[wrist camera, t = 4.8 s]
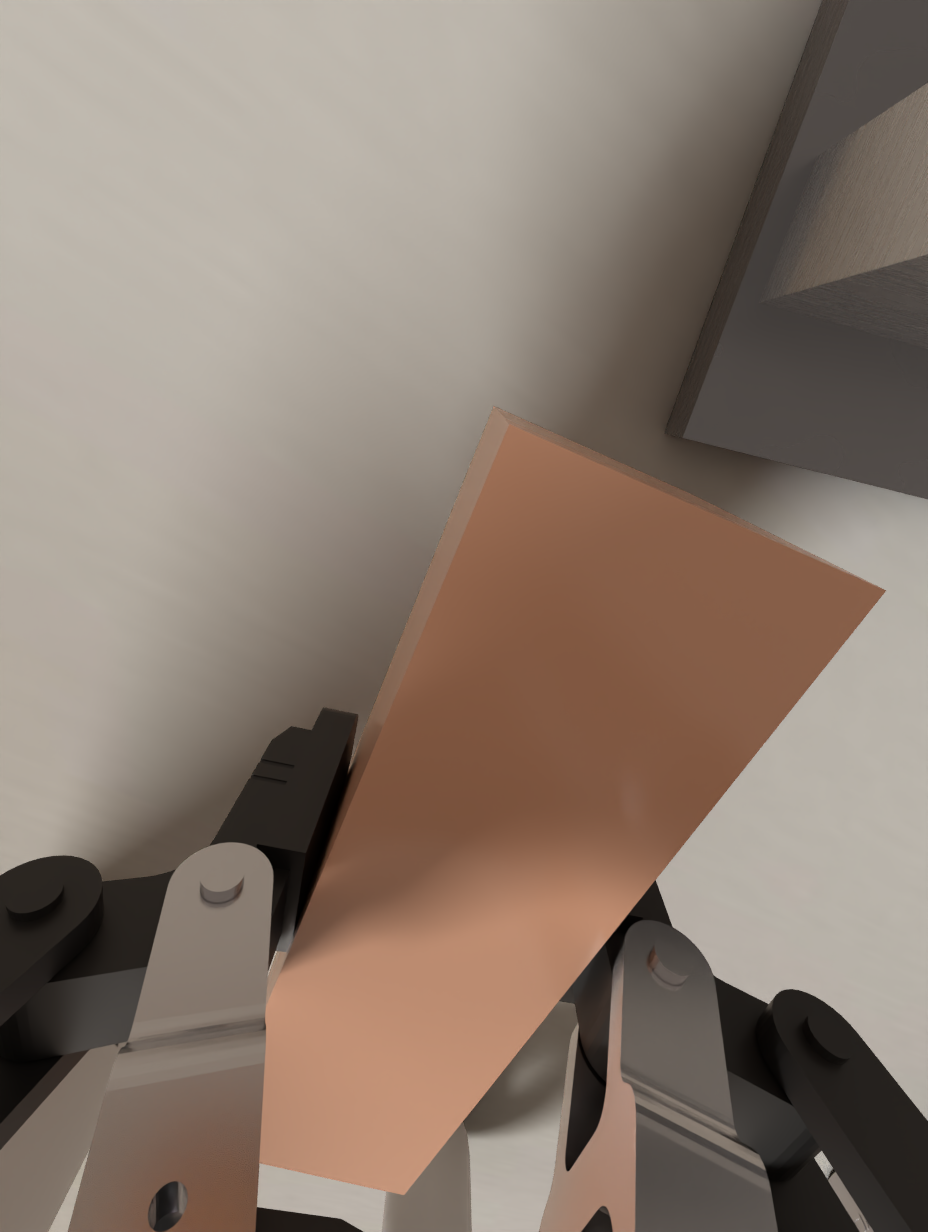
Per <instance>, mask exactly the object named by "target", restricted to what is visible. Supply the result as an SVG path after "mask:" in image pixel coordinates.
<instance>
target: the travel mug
mask: <svg viewBox="0 0 928 1232" xmlns="http://www.w3.org/2000/svg"><path fill="white" fill-rule="evenodd" d="M126 1043H127V1042H123V1043H118V1044H113V1045H108V1046H104V1047H99V1048H94V1049H90V1050H89V1051H88V1052H87V1053H86V1054H85V1055H84V1057H83V1058H82V1059H81V1060H80V1061H79V1062H78V1063H77V1064H76V1066H75V1067H74V1068H73V1069H72V1070H71V1071H70V1072H69V1073H68V1075H67V1076H66V1077H65V1078H64V1079H63V1080H62V1081H61V1082H60V1084H59V1085H58V1086H57V1087H56V1088H55V1089H54V1090H53V1091H52V1093H51V1094H50V1095H49V1096H48V1097H47V1098H46V1099H45V1100H44V1102H43V1103H42V1104H41V1105H40V1106H39V1107H38V1108H37V1109H36V1111H35V1112H34V1113H33V1114H32V1115H31V1116H30V1117H29V1118H28V1120H27V1121H26V1122H25V1123H24V1124H23V1125H22V1126H21V1127H20V1129H19V1130H18V1131H17V1132H16V1133H15V1134H14V1135H13V1136H12V1138H11V1139H10V1140H9V1141H8V1142H7V1143H6V1144H5V1145H4V1147H3V1148H2V1149H1V1150H0V1232H48V1231H49V1229H50V1227H51V1225H52V1223H53V1221H54V1219H55V1217H56V1215H57V1213H58V1211H59V1209H60V1207H61V1205H62V1203H63V1201H64V1199H65V1197H66V1195H67V1193H68V1191H69V1189H70V1187H71V1185H72V1183H73V1181H74V1179H75V1177H76V1175H77V1173H78V1171H79V1169H80V1167H81V1165H82V1163H83V1161H84V1159H85V1157H86V1155H87V1153H88V1151H89V1149H90V1147H91V1143H92V1139H93V1135H94V1132H95V1128H96V1124H97V1120H98V1117H99V1113H100V1109H101V1105H102V1102H103V1098H104V1094H105V1091H106V1087H107V1083H108V1080H109V1077H110V1073H111V1070H112V1067H113V1064H114V1062H115V1059H116V1057H117V1054H118V1052H119V1050H120V1049H121V1048H122V1047H125V1045H126Z"/></svg>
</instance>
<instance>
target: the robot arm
mask: <svg viewBox="0 0 928 1232" xmlns="http://www.w3.org/2000/svg"><path fill="white" fill-rule="evenodd" d="M357 721H358V714H353V713H348V712H343V711H339V710H334V709H329V708H323V709H322V711H321V713H320V715H319V717H318V719H317V721H316V723H315V725H314V727H313V729H312V730H307V729H302V728H297V727H292V726H291V727H290V728H288V729H287V730H286V731H284V732H283V733H281V734H280V735H279V736H277V737H276V738H274V739H273V740H272V741H271V743H270V744H269V746H268V748H267V749H266V751H265V753H264V755H263V756H262V758H261V761H260V763H258V765H257V767H256V768H255V770H254V772H253V773H252V776H251V779H249V780H248V782H247V784H246V785H245V787H244V789H243V791H242V792H241V794H240V796H239V797H238V799H237V801H236V802H235V804H234V806H233V808H232V809H231V811H230V813H229V814H228V816H227V818H226V820H225V821H224V823H223V825H222V826H221V828H220V830H219V832H218V833H217V835H216V837H215V838H214V840H213V841H212V843H211V844H210V846H208V847H206V848H203V849H201V850H199V851H197V852H195V853H194V854H192V855H191V856H189V857H188V858H187V859H186V860H184V861H183V862H182V863H181V864H180V865H179V867H178V868H177V869H176V870H173V871H171V872H168V873H164V874H161V875H156V876H150V877H142V878H133V879H123V880H114V881H104V882H102V879H101V875H100V873H99V871H98V869H97V868H96V867H95V866H94V865H93V864H92V863H90V862H89V861H87V860H84V859H82V858H78V857H74V856H50V857H45V858H40V859H36V860H33V861H29V862H27V863H24V864H22V865H19V866H17V867H15V868H13V869H11V870H9V871H7V872H5V873H4V874H2V875H0V1150H1V1149H2V1148H3V1147H4V1145H5V1144H6V1143H7V1142H8V1141H9V1140H10V1139H11V1138H12V1136H13V1135H14V1134H15V1133H16V1132H17V1131H18V1130H19V1129H20V1127H21V1126H22V1125H23V1124H24V1123H25V1122H26V1121H27V1120H28V1118H29V1117H30V1116H31V1115H32V1114H33V1113H34V1112H35V1111H36V1109H37V1108H38V1107H39V1106H40V1105H41V1104H42V1103H43V1102H44V1100H45V1099H46V1098H47V1097H48V1096H49V1095H50V1094H51V1093H52V1091H53V1090H54V1089H55V1088H56V1087H57V1086H58V1085H59V1084H60V1082H61V1081H62V1080H63V1079H64V1078H65V1077H66V1076H67V1075H68V1073H69V1072H70V1071H71V1070H72V1069H73V1068H74V1067H75V1066H76V1064H77V1063H78V1062H79V1061H80V1060H81V1059H82V1058H83V1057H84V1055H85V1054H86V1053H87V1052H88V1051H89V1050H90V1049H94V1048H99V1047H104V1046H108V1045H113V1044H118V1043H123V1042H127V1043H126V1045H125V1047H122V1048H121V1049H120V1050H119V1052H118V1054H117V1057H116V1059H115V1062H114V1064H113V1067H112V1070H111V1073H110V1077H109V1080H108V1083H107V1087H106V1091H105V1094H104V1098H103V1102H102V1105H101V1109H100V1113H99V1117H98V1120H97V1124H96V1128H95V1132H94V1135H93V1139H92V1143H91V1147H90V1150H89V1154H88V1158H87V1162H86V1165H85V1169H84V1173H83V1176H82V1180H81V1184H80V1188H79V1191H78V1195H77V1199H76V1203H75V1206H74V1210H73V1214H72V1218H71V1221H70V1225H69V1229H68V1232H363V1231H361V1230H359V1229H358V1228H356V1227H354V1226H352V1225H351V1224H349V1223H347V1222H345V1221H344V1220H342V1219H338V1218H331V1217H323V1216H316V1215H309V1214H302V1213H295V1212H287V1211H280V1210H273V1209H266V1208H259V1207H257V1194H258V1177H259V1159H260V1141H261V1123H262V1105H263V1087H264V1069H265V1050H266V1024H265V1012H266V994H267V977H268V970H269V967H270V964H271V962H272V959H273V956H274V953H275V951H281V952H287V950H288V947H289V945H290V942H291V940H292V938H293V935H294V932H295V929H296V926H297V923H298V920H299V917H300V914H301V911H302V908H303V905H304V902H305V899H306V896H307V894H308V891H309V888H310V885H311V882H312V879H313V876H314V873H315V870H316V867H317V864H318V861H319V858H320V855H321V852H322V849H323V846H324V843H325V840H326V837H327V834H328V831H329V828H330V825H331V822H332V819H333V816H334V813H335V811H336V808H337V805H338V802H339V799H340V796H341V793H342V790H343V787H344V784H345V781H346V778H347V775H348V771H349V766H350V760H351V755H352V749H353V744H354V738H355V733H356V727H357ZM559 1001H562V1002H568V1003H574V1004H575V1007H576V1013H577V1019H578V1023H577V1025H576V1027H575V1029H574V1030H573V1033H572V1035H571V1039H570V1044H569V1052H568V1061H567V1069H566V1078H565V1086H564V1094H563V1103H562V1111H561V1120H560V1128H559V1136H558V1145H557V1153H556V1162H555V1169H554V1176H553V1181H552V1186H551V1190H550V1194H549V1198H548V1201H547V1204H546V1207H545V1210H544V1214H543V1217H542V1221H541V1225H540V1229H539V1232H928V1121H927V1120H926V1118H925V1117H924V1116H923V1115H922V1113H921V1112H920V1111H919V1110H918V1108H917V1107H916V1106H915V1105H914V1103H913V1102H912V1101H911V1100H910V1098H909V1097H908V1096H907V1095H906V1093H905V1092H904V1091H903V1090H902V1088H901V1087H900V1086H899V1085H898V1083H897V1082H896V1081H895V1080H894V1078H893V1077H892V1076H891V1075H890V1073H889V1072H888V1071H887V1070H886V1068H885V1067H884V1066H883V1064H882V1063H881V1062H880V1061H879V1059H878V1058H877V1057H876V1056H875V1054H874V1053H873V1052H872V1051H871V1049H870V1048H869V1047H868V1046H867V1044H866V1043H865V1042H864V1041H863V1039H862V1038H861V1037H860V1036H859V1034H858V1033H857V1032H856V1031H855V1030H854V1029H853V1027H852V1026H851V1025H850V1024H849V1023H848V1022H847V1021H846V1020H845V1019H844V1018H843V1017H842V1016H841V1015H840V1014H839V1013H837V1012H836V1011H835V1010H834V1009H833V1008H831V1007H830V1006H829V1005H827V1004H826V1003H825V1002H823V1001H821V1000H820V999H818V998H816V997H815V996H812V995H810V994H808V993H806V992H803V991H799V990H793V989H789V990H783V991H781V992H779V993H778V994H777V995H776V996H775V997H774V999H773V1000H772V1001H771V1002H770V1004H767V1003H765V1002H763V1001H761V1000H759V999H757V998H755V997H753V996H751V995H749V994H747V993H745V992H743V991H741V990H739V989H737V988H735V987H733V986H731V985H729V984H727V983H725V982H723V981H722V980H720V979H718V978H716V977H715V976H714V975H713V973H712V971H711V968H710V966H709V964H708V962H707V960H706V959H705V957H704V956H703V954H702V953H701V952H700V950H699V949H698V948H697V947H696V946H695V945H694V944H693V943H692V942H691V941H690V940H689V939H688V938H687V937H686V936H685V935H683V934H682V933H681V932H679V931H678V930H676V929H675V928H673V927H672V924H671V922H670V919H669V916H668V913H667V911H666V908H665V905H664V902H663V899H662V897H661V894H660V891H659V888H658V886H657V883H656V880H655V881H654V882H653V884H652V885H651V886H650V887H649V889H648V890H647V891H646V892H645V894H644V895H643V896H642V897H641V899H640V900H639V901H638V902H637V904H636V905H635V906H634V907H633V909H632V910H631V911H630V912H629V914H628V915H627V916H626V917H625V919H624V920H623V921H622V922H621V924H620V925H619V926H618V927H617V929H616V930H615V931H614V932H613V934H612V935H611V936H610V937H609V939H608V940H607V941H606V943H605V944H604V945H603V946H602V948H601V949H600V950H599V951H598V953H597V954H596V955H595V956H594V958H593V959H592V960H591V961H590V963H589V964H588V965H587V966H586V968H585V969H584V970H583V971H582V973H581V974H580V975H579V976H578V978H577V979H576V980H575V981H574V983H573V984H572V985H571V986H570V988H569V989H568V990H567V991H566V993H565V994H564V995H563V996H562V998H561V999H560V1000H559ZM821 1151H823V1153H824V1155H825V1156H826V1158H827V1159H828V1161H829V1162H830V1164H831V1166H832V1167H833V1169H834V1170H835V1173H834V1174H833V1175H832V1176H831V1177H830V1178H829V1179H828V1180H827V1178H826V1177H825V1175H824V1173H823V1172H822V1170H821V1169H820V1167H819V1165H818V1164H817V1162H816V1161H815V1159H814V1157H815V1156H816V1155H817V1154H818V1153H820V1152H821Z"/></svg>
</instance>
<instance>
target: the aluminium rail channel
mask: <svg viewBox="0 0 928 1232" xmlns="http://www.w3.org/2000/svg"><path fill="white" fill-rule="evenodd" d="M665 434H669V435H673V436H677V437H681V438H685V439H689V440H693V441H697V442H701V443H705V444H709V445H713V446H717V447H721V448H725V449H729V450H733V451H737V452H741V453H745V454H749V455H753V456H757V457H761V458H765V459H769V460H773V461H777V462H781V463H785V464H789V465H793V466H797V467H801V468H805V469H809V470H813V471H817V472H821V473H825V474H829V475H833V476H837V477H841V478H845V479H849V480H853V481H857V482H861V483H865V484H869V485H873V486H877V487H881V488H885V489H889V490H893V491H897V492H901V493H905V494H909V495H913V496H917V497H921V498H925V499H928V0H823V1H822V4H821V6H820V9H819V12H818V15H817V17H816V20H815V23H814V25H813V28H812V31H811V34H810V36H809V39H808V42H807V45H806V47H805V50H804V53H803V56H802V58H801V61H800V64H799V67H798V69H797V72H796V75H795V77H794V80H793V83H792V86H791V88H790V91H789V94H788V97H787V99H786V102H785V105H784V108H783V110H782V113H781V116H780V119H779V121H778V124H777V127H776V129H775V132H774V135H773V138H772V140H771V143H770V146H769V149H768V151H767V154H766V157H765V160H764V162H763V165H762V168H761V171H760V173H759V176H758V179H757V181H756V184H755V187H754V190H753V192H752V195H751V198H750V201H749V203H748V206H747V209H746V212H745V214H744V217H743V220H742V223H741V225H740V228H739V231H738V233H737V236H736V239H735V242H734V244H733V247H732V250H731V253H730V255H729V258H728V261H727V264H726V266H725V269H724V272H723V275H722V277H721V280H720V283H719V285H718V288H717V291H716V294H715V296H714V299H713V302H712V305H711V307H710V310H709V313H708V316H707V318H706V321H705V324H704V327H703V329H702V332H701V335H700V337H699V340H698V343H697V346H696V348H695V351H694V354H693V357H692V359H691V362H690V365H689V368H688V370H687V373H686V376H685V379H684V381H683V384H682V387H681V389H680V392H679V395H678V398H677V400H676V403H675V406H674V409H673V411H672V414H671V417H670V420H669V422H668V425H667V428H666V431H665Z"/></svg>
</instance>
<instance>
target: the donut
mask: <svg viewBox="0 0 928 1232" xmlns="http://www.w3.org/2000/svg"><path fill="white" fill-rule="evenodd" d="M382 1232H472V1228H471V1183H470V1154H469V1145H468V1137H467V1132H466V1129H465V1126H464V1124H463V1122H462V1123H461V1124H460V1126H459V1127H458V1128H457V1129H456V1131H455V1132H454V1133H453V1134H452V1136H451V1137H450V1138H449V1139H448V1141H447V1142H446V1143H445V1144H444V1146H443V1147H442V1148H441V1149H440V1151H439V1152H438V1153H437V1155H436V1156H435V1157H434V1158H433V1160H432V1161H431V1162H430V1163H429V1165H428V1166H427V1167H426V1168H425V1170H424V1171H423V1172H422V1173H421V1175H420V1176H419V1177H418V1178H417V1180H416V1181H415V1182H414V1183H413V1185H412V1186H411V1187H410V1188H409V1190H408V1191H407V1192H406V1193H405V1195H401V1194H396V1193H392V1192H387V1191H386V1197H385V1207H384V1216H383V1225H382Z"/></svg>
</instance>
